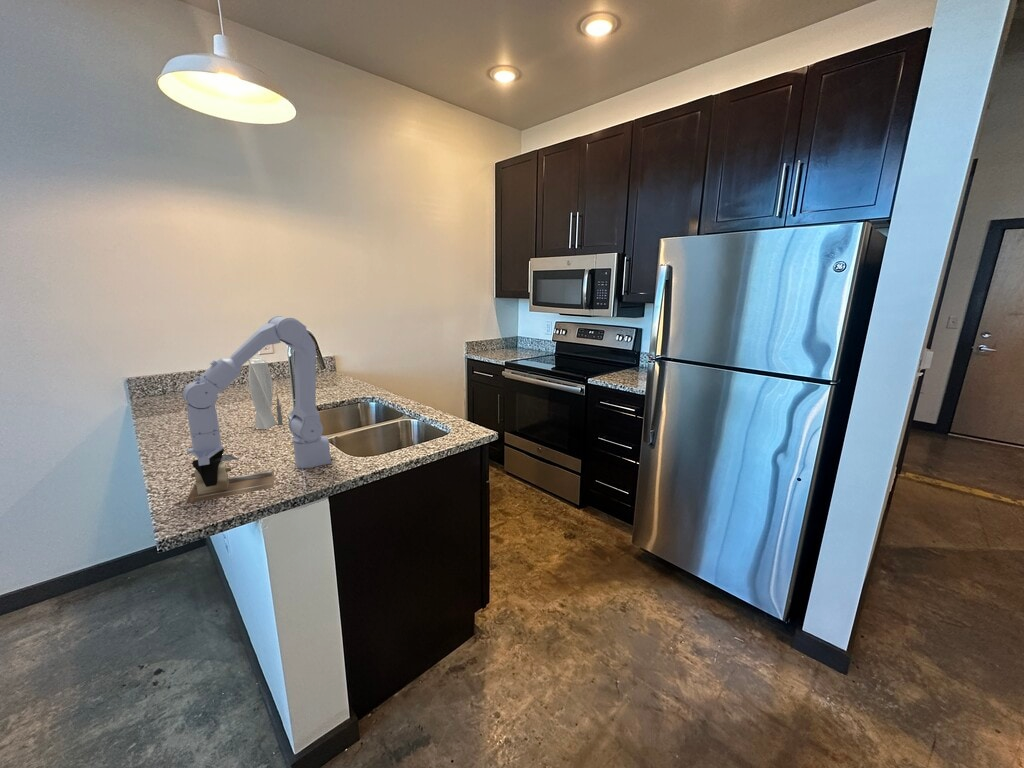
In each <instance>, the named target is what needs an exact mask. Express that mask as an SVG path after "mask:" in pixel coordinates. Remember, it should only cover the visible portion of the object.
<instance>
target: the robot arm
mask: <svg viewBox="0 0 1024 768" xmlns="http://www.w3.org/2000/svg"><path fill="white" fill-rule="evenodd" d="M281 343H284V344H285V345H287V346H288V347H289V348H290V349H292V351H294V393H295V394H294V398H295V399H294V407H293V409H292V411H291V418H290V420H289V422H288V429H289V431H290V432H291V433H292V434H293V438H292V442H293V443H292V444H293V445H292V446H293V451H294V454H293V455H294V461H295V462H294V463H295V467H296V468H298V469H299V468H300V469H308V468H310V469H311V468H313V467H318V466H323V465H328V464H331V463H332V461H331V460H332V456H331V455H332V454H331V451H330V450H331V449H330V441H329V437H328V436H327V435H325V436H323V433H324V426H323V424H322V421H321V417H320V416H321V415H320V413H319V411H318V409H317V407H316V403H317V401H316V396H317V395H316V393H317V391H316V387H317V386H316V385H317V384H316V382H317V381H316V379H317V378H316V375H317V374H316V371H317V370H316V367H317V366H316V362H317V361H316V360H317V358H316V356H317V354H316V352H317V351H316V350H317V349H316V344H315V342H314V340H313V339H312V337H311V335H310V333H309V331H308V330H307V326H306V325H305V324H303V323H302V322H301V321H300V320H298V319H296V318H294V317H284V316H279V315H277V316H273V317H271V318H270V319H269V320H268V321H267V322H265V323H263V324H262V325H261V326H259V328H258V329H256V331H254V333H252V335H251V336H250V337H248V339H246V340H245V342H244V343H243V344H242V345H240V346H239V347H238V348H237V349H236V350H235V352H233V353H232V354H231V355H230V356H229V357H224V358H223V357H220V358H218V360H214V359H213V360H212V361H211V362H210V364H209V365H210V367H209V368H208V369H206V370H205V371H204V372H203V373H202V374H201V375H200V376H198V375H197V376H195V377H194V378H193V380H195V381H193V382H189V383H188V384H186V385H185V386H184V388H183V391H182V393H181V397H182V399H183V401H185V402H186V411H187V420H188V427H189V434H190V438H191V439H190V441H191V445H192V447H191V448H188V449H187V450H186V453H187V454H188V455H191V454H193V456H195V457H196V458H197V459H195V460H193V461H192V462H191V465H192V467H193V468H194V469H196V470H197V471H198V472H199V473H200V475H201V477H202V479H203V481H204V484H205V485H206V487H209V486H215V485H216V484H217V479H218V466H219V463H220V462H222V461H221V457H222V454H224V452H225V448H224V446H223V443H222V440H221V433H220V432H221V431H220V426H219V424H220V423H219V419H218V418H219V417H218V411H217V409H216V402H217V401H218V398H219V397H218V396H219V394H220V393H223V391H224V390H225V389H226V388H228V387H229V385H230V384H232V383H233V382H234V381H235V380H236V379H237V378H238V377H239V376H240V375H241V374H242V373H241V372H242V371H241V368H242V366H244V365H245V364H246V363H247V362H249V361H248V360H251V359H253V358H252V357H255V355H256V354H257V353H259V352H260V351H261V350H262V349H264V348H265V347H266V346H269V345H270V346H271V345H277V344H281Z"/></svg>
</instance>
